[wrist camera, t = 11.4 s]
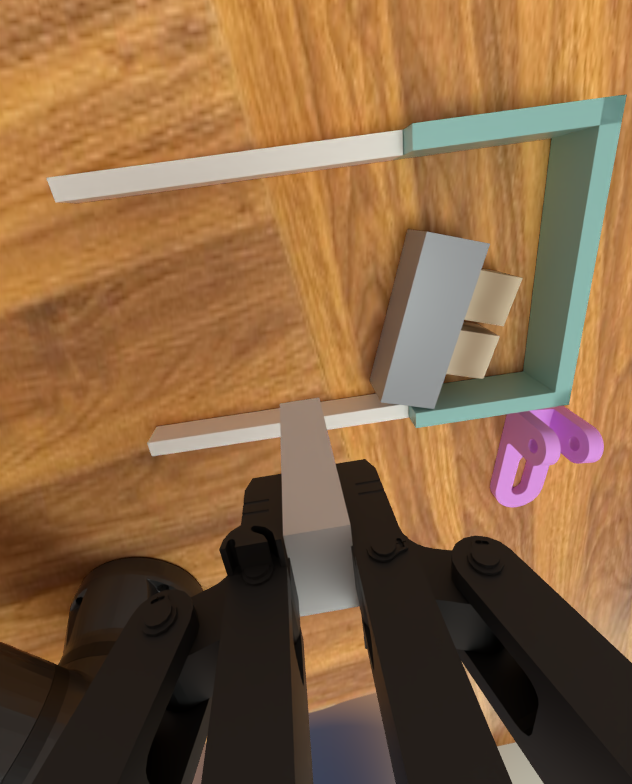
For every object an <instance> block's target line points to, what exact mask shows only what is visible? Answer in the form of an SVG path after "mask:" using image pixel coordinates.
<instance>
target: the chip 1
mask: <svg viewBox="0 0 632 784" xmlns="http://www.w3.org/2000/svg"><path fill="white" fill-rule="evenodd" d="M521 281H522V278H520V277H517V276H513V275H509V274H506V273H502V272H498V271H494V270H488V269H483V268H482V269H481V272H480V275H479V278H478V281H477V284H476V287H475V290H474V293H473V296H472V299H471V301H470V304H469V307H468V310H467V313H466V316H465V319H464V320H470V321H475V322H481V323H487V324H493V325H499V326H504V324H505V321H506V319H507V316H508V314H509V311H510V308H511V306H512V303H513V301H514V298H515V296H516V293H517V291H518V288H519V286H520V283H521Z"/></svg>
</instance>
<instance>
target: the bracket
mask: <svg viewBox="0 0 632 784" xmlns="http://www.w3.org/2000/svg"><path fill="white" fill-rule="evenodd" d="M603 449H604V445H603V440H602V437H601V435H600V433H599V431H598V430H597V429H596V428H595V427H593V426H592V425H591V424H589V423H588V422H586V421H585V420H583V419H582V418H580V417H579V416H577V415H576V414H574V413H573V412H571V411H570V410H569V409H567V408H566V407H564V406H557V407H550V408H544V409H537V410H531V411H524V412H518V413H511V414H507V415H506V420H505V424H504V428H503V432H502V437H501V441H500V445H499V449H498V454H497V458H496V462H495V466H494V471H493V475H492V479H491V484H490V489H491V492H492V494H493V495H494V496H495V498H496V499H497V500H498V502H499V503H500V504H502V505H504V506H507V507H518V506H522V505H525V504H527V503H529V502H530V501H532V500H533V499H534V498H536V497H537V495H538V494H539V493H540V491H541V490H542V487H543V484H544V481H545V477H546V474H547V471H548V468H549V465H553V464H555V463H556V462H557V461H558V459H559V457H560V453H562V454H563V455H564V456H565V457H566V458H567V459H569V460H570V461H571V462H573V463H592V462H596V461H598V460H599V459H600V457H601V456H602V454H603ZM522 457H524V458H525V459H526V460H527V461H526V465H525V468H524V472H523V475H522V479H521V482H520V484H519V485H517V486H516V487H513V488H512V486H513V482H514V478H515V475H516V471H517V467H518V464H519V461H520V459H521V458H522Z"/></svg>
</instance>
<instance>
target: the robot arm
mask: <svg viewBox="0 0 632 784" xmlns="http://www.w3.org/2000/svg"><path fill="white" fill-rule="evenodd" d="M280 433H281V473H282V474H277V475H271V476H265V477H259V478H253V479H252V480H251V482H250V484H249V485H248V487H247V488H246V490H245V495H244V506H243V513H242V514H243V516H242V521H241V526H239V527H237V528H236V529H234V530H233V531H231V532H230V533H229V534H228V535H227V536H226V538H225V539H224V540H223V542H222V544H221V547H220V549H219V550H220V553H221V556H222V560H223V563H224V566H225V569H226V572H227V577H226V578H224V579H223V580H222V581H221V582H220V583H218V584H216V585H215V586H213V587H211V588H209V589H207V590H205V591H202V588H201V587H200V585H199V584H198V582H197V581H196V580H195V579H194V578H193V577H192V576H191V575H190V574H188V573H187V572H186V571H184V570H183V569H181V568H179V567H177V566H175V565H172V564H170V563H167V562H164V561H160V560H155V559H149V558H126V559H119V560H115V561H111V562H108V563H106V564H103V565H101V566H99V567H97V568H96V569H94V570H93V571H91V572H90V573H89V574H88V575H87V576H86V577H85V579H84V580H83V581H82V583H81V585H80V587H79V589H78V591H77V593H76V594H75V596H74V598H73V601H72V604H71V608H70V613H69V620H68V626H67V632H66V638H65V645H64V651H63V656H62V658H61V660H60V662H59V664H58V665H56V664H54V663H52V662H49V661H47V660H44V659H42V658H40V657H37V656H35V655H32V654H30V653H27V652H25V651H22V650H20V649H17V648H15V647H13V646H10V645H8V644H5V643H3V642H0V784H192V782H193V779H194V776H195V773H196V769H197V766H198V763H199V760H200V757H201V753H202V750H203V747H204V744H205V741H206V738H207V743H206V751H205V759H204V766H203V774H202V782H201V784H313V773H312V758H311V744H310V730H309V715H308V701H307V686H306V672H305V658H304V643H303V636H302V632H301V627H300V616H307V615H312V614H318V613H324V612H329V611H335V610H341V609H346V608H352V607H358V606H360V610H361V614H362V623H363V632H364V641H365V649H367V650H368V654H369V659H370V664H371V668H372V673H373V678H374V683H375V687H376V692H377V697H378V702H379V706H380V711H381V716H382V721H383V725H384V730H385V734H386V739H387V744H388V749H389V754H390V758H391V763H392V768H393V772H394V777H395V782H396V784H512V782H511V779H510V777H509V775H508V772H507V770H506V767H505V765H504V762H503V760H502V758H501V756H500V753H499V751H498V748H497V746H496V743H495V741H494V739H493V736H492V734H491V731H490V729H489V727H488V724H487V722H486V719H485V717H484V715H483V712H482V710H481V707H480V705H479V703H478V700H477V698H476V695H475V693H474V691H473V688H472V686H471V683H470V681H469V679H468V676H467V674H466V671H465V669H464V667H463V664H464V665H465V667H466V668H467V670H468V671H469V673H470V674H471V676H472V677H473V679H474V680H475V682H476V683H477V685H478V686H479V688H480V689H481V691H482V692H483V694H484V695H485V697H486V698H487V700H488V701H489V703H490V704H491V706H492V707H493V709H494V710H495V712H496V713H497V714H498V716H499V717H500V719H501V720H502V722H503V723H504V725H505V726H506V728H507V729H508V731H509V732H510V734H511V735H512V737H513V738H514V740H515V741H516V743H517V744H518V746H519V747H520V749H521V750H522V752H523V753H524V755H525V756H526V758H527V759H528V760H529V762H530V764H531V765H532V767H533V768H534V770H535V771H536V773H537V774H538V775H539V777H540V778H541V780H542V781H543V783H544V784H632V663H631V662H630V661H629V660H628V659H627V658H626V657H625V656H624V655H623V654H621V653H620V652H619V651H618V650H617V649H616V648H615V647H614V646H613V645H612V644H611V643H610V642H609V641H608V640H607V639H606V638H604V637H603V636H602V635H601V634H600V633H599V632H598V631H597V630H596V629H595V628H594V627H593V626H592V625H591V624H590V623H588V622H587V621H586V620H585V619H584V618H583V617H582V616H581V615H580V614H579V613H578V612H577V611H576V610H575V609H574V608H573V607H571V606H570V605H569V604H568V603H567V602H566V601H565V600H564V599H563V598H562V597H561V596H560V595H559V594H558V593H557V592H556V591H554V590H553V589H552V588H551V587H550V586H549V585H548V584H547V583H546V582H545V581H544V580H543V579H542V578H541V577H540V576H538V575H537V574H536V573H535V572H534V571H533V570H532V569H531V568H530V567H529V566H528V565H527V564H526V563H525V562H524V561H523V560H521V559H520V558H519V557H518V556H517V555H516V554H515V553H514V552H513V551H512V550H511V549H510V548H508V547H507V546H505V545H504V544H502V543H501V542H499V541H497V540H494V539H491V538H489V537H482V536H471V537H467V538H463V539H462V540H460V541H459V542H457V543H456V544H455V546H454V548H453V550H452V551H451V550H441V549H433V548H428V547H423V546H421V545H418V544H416V543H414V542H412V541H411V540H409V539H408V537H407V536H405V535H404V534H403V533H402V531H401V530H400V528H399V526H398V523H397V521H396V518H395V516H394V513H393V511H392V508H391V506H390V503H389V501H388V498H387V496H386V493H385V491H384V488H383V486H382V483H381V482H380V478H379V476H378V473H377V471H376V468H375V467H374V466H372V465H371V464H370V463H369V462H368V461H366V460H365V459H363V460H357V461H351V462H344V463H338V464H335V460H334V456H333V452H332V448H331V444H330V440H329V436H328V431H327V427H326V423H325V419H324V415H323V411H322V407H321V403H320V399H319V398H313V399H306V400H300V401H294V402H287V403H281V404H280ZM299 612H300V613H299ZM461 661H462V662H463V664H462V662H461Z"/></svg>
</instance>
